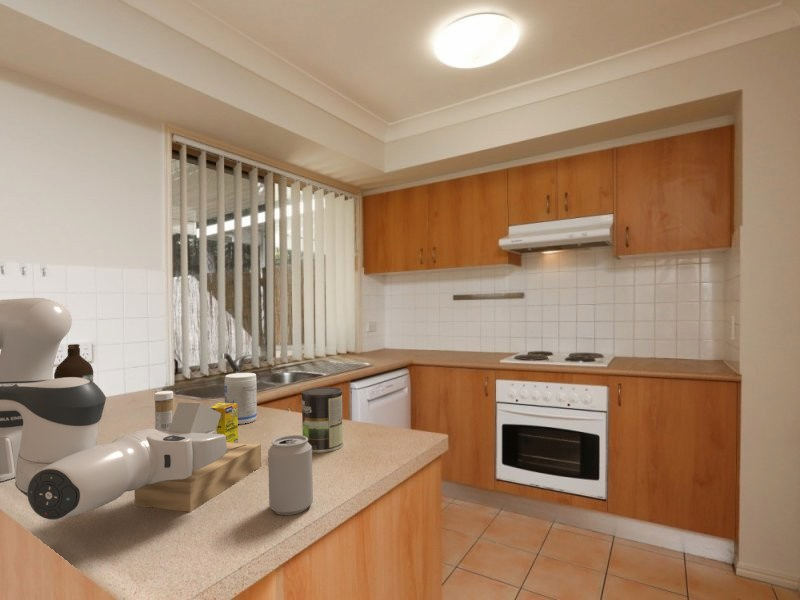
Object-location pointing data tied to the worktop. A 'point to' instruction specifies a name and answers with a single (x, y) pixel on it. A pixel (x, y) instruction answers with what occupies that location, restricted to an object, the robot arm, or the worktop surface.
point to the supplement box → (227, 420)
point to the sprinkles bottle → (163, 410)
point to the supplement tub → (242, 395)
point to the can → (290, 474)
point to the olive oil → (74, 365)
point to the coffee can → (322, 418)
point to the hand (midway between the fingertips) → (200, 433)
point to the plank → (202, 480)
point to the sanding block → (194, 418)
